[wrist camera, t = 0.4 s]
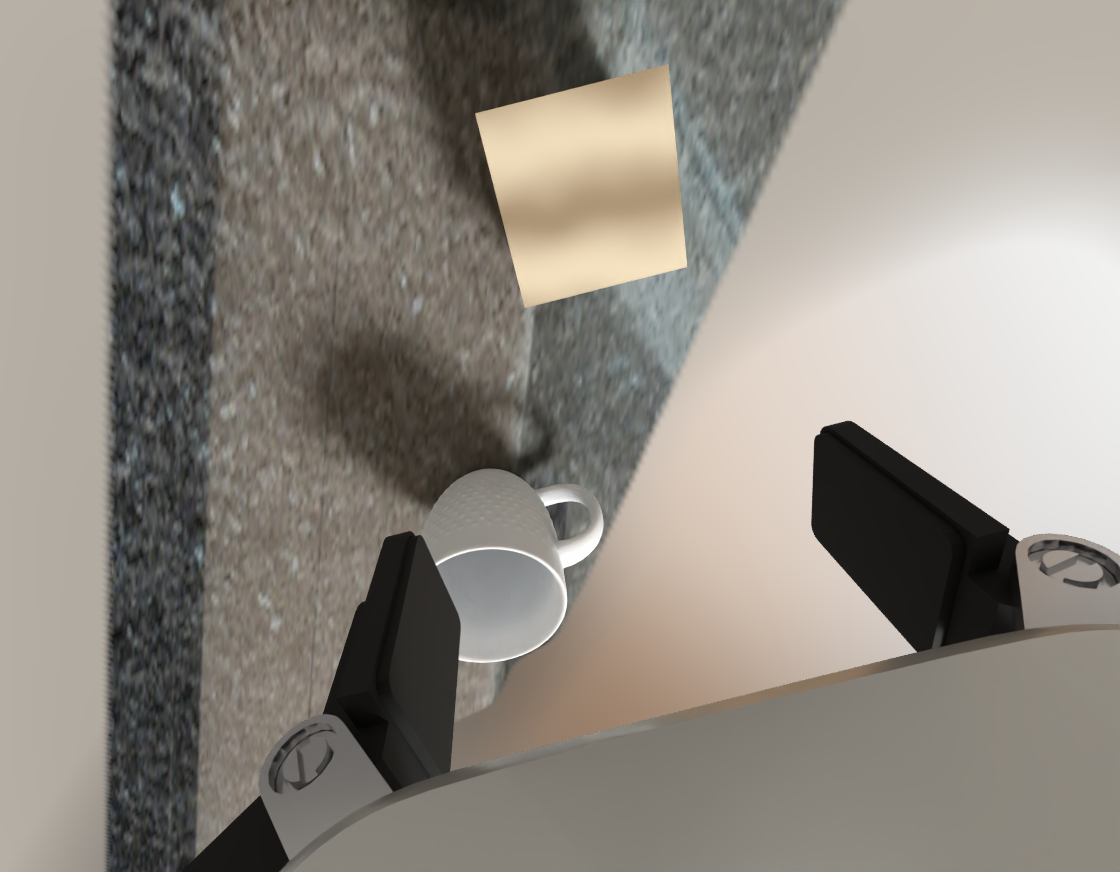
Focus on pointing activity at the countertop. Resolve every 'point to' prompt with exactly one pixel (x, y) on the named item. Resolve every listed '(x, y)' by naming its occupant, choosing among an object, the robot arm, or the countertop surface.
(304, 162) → the countertop surface
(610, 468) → the countertop surface
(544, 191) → the stool
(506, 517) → the mug
